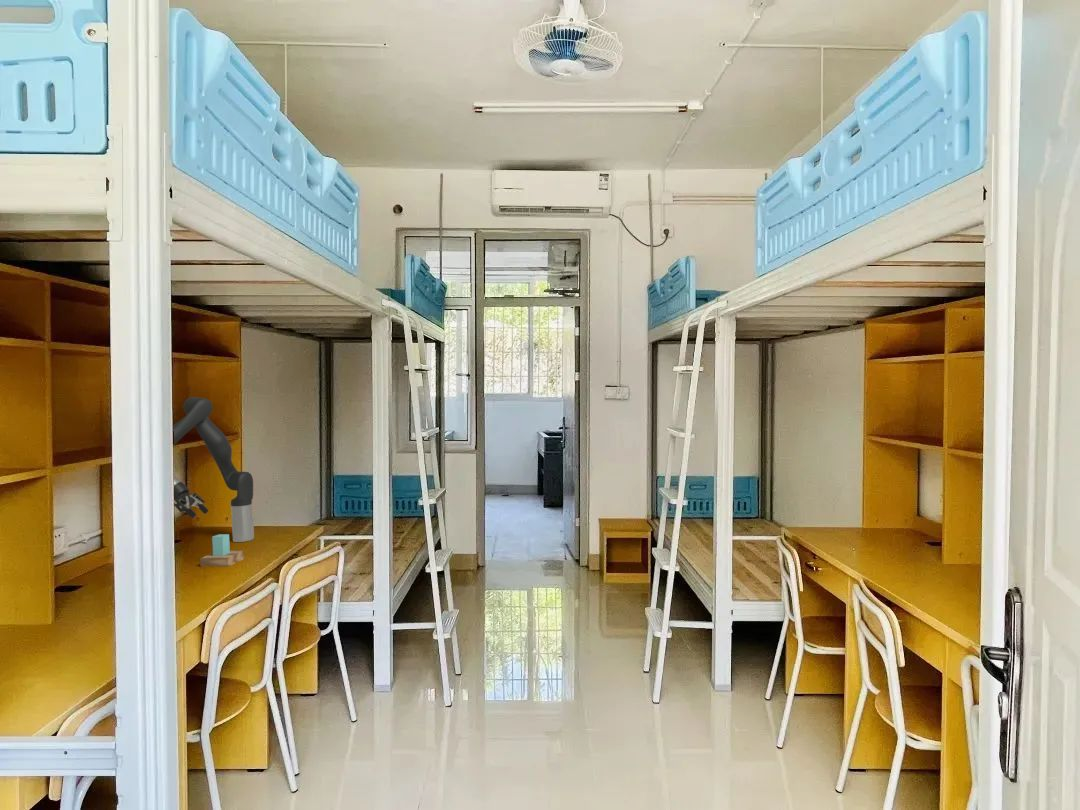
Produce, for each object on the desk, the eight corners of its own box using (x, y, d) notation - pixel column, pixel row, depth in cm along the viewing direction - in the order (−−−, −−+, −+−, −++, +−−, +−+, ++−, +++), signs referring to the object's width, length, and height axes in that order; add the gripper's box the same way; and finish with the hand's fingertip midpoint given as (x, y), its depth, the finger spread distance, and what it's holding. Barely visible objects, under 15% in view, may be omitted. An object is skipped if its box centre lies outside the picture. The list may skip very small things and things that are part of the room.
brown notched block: (217, 560, 286) (217, 550, 286) (244, 559, 285) (243, 550, 285) (200, 567, 274) (200, 558, 274) (228, 567, 273) (227, 558, 273)
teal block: (219, 553, 282) (219, 534, 282) (229, 553, 281) (229, 534, 281) (213, 555, 277) (212, 536, 277) (223, 555, 277) (222, 536, 277)
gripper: (168, 484, 273) (196, 511, 272) (190, 478, 287) (216, 504, 287) (157, 497, 274) (184, 524, 273) (179, 491, 288) (205, 517, 287)
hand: (200, 514), depth 280 cm, fingers open, 8 cm apart
